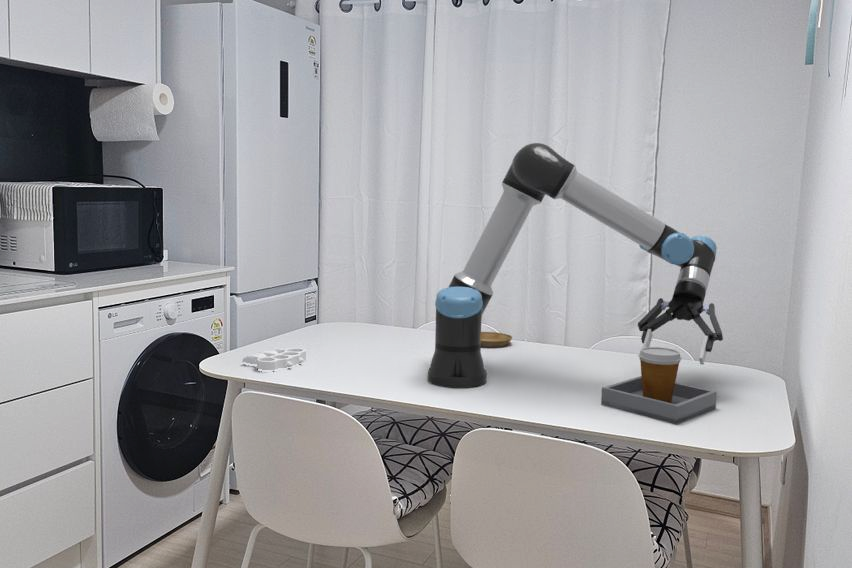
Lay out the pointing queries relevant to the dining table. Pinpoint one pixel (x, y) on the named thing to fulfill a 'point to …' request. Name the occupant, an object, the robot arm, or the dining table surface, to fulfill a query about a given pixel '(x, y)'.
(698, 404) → the grey tray
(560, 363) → the dining table surface
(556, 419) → the dining table surface
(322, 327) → the dining table surface
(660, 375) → the disposable coffee cup
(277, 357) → the white holed plate
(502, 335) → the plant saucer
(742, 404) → the dining table surface
